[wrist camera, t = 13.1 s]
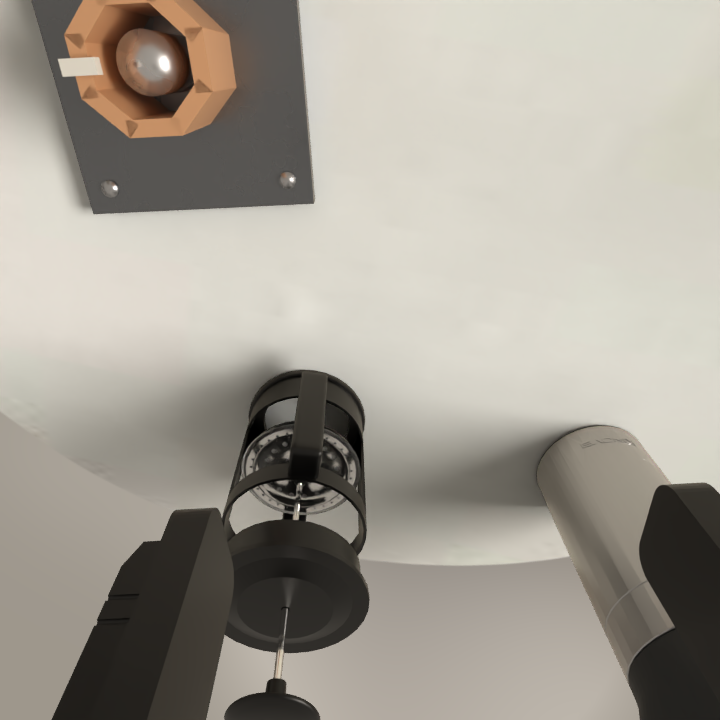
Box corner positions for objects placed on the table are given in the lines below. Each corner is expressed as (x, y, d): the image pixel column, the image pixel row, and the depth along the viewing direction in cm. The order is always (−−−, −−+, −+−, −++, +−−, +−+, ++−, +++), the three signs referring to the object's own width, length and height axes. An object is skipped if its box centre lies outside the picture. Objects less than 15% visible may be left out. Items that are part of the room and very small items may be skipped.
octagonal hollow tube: (223, -6, 28) (190, -25, 22) (241, 122, 31) (217, 135, 25) (101, 0, 28) (36, -17, 22) (131, 128, 31) (81, 142, 25)
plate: (314, 199, 34) (308, 224, 29) (101, 209, 34) (54, 236, 29) (288, -126, 26) (272, -175, 21) (10, -112, 26) (-77, -158, 21)
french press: (353, 475, 46) (357, 793, 26) (245, 462, 45) (162, 783, 25) (378, 359, 40) (408, 651, 20) (255, 342, 39) (157, 630, 19)
